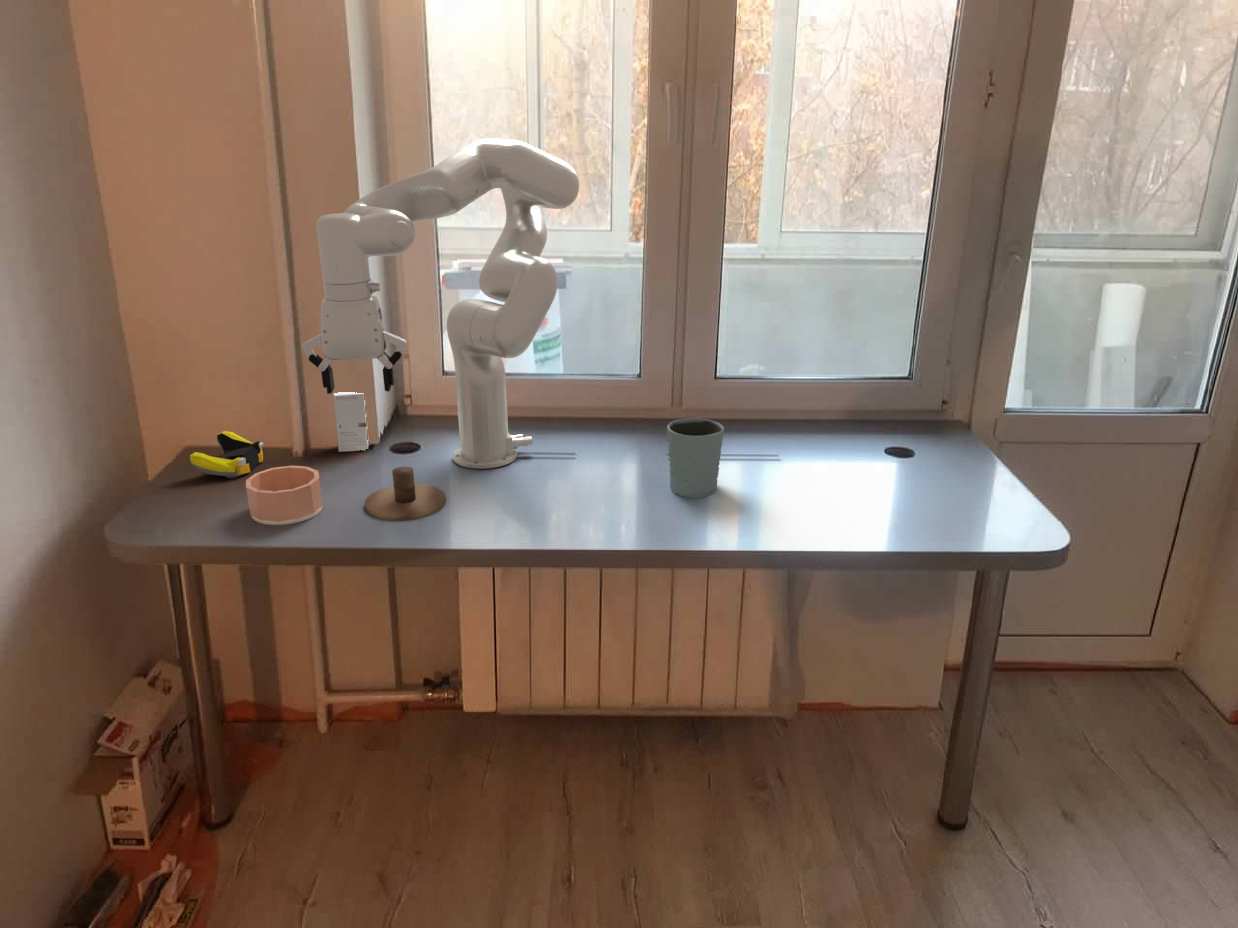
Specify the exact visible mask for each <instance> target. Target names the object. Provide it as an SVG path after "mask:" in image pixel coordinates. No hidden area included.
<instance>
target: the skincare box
mask: <svg viewBox="0 0 1238 928" xmlns="http://www.w3.org/2000/svg"><path fill="white" fill-rule="evenodd" d="M333 404H334V415H335V426H336V427H335V428H336V435H337V436H336V437H337V447H338V448H337V449H338V452H339V453H341V452H344V453H345V452H356V451H357V452H358V451H360V450H361V451H367V450H366V449H368V450H369V443H368V441H369V439H368V440H367V429H368V426H367V427H366V417H367V413H366V414H365V405H366V399H365V400H364V393H357V392H356V393H355V392H338V393H334V392H333ZM361 451H360V452H361Z"/></svg>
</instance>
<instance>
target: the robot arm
mask: <svg viewBox="0 0 1238 928" xmlns="http://www.w3.org/2000/svg"><path fill="white" fill-rule="evenodd" d="M494 189H500V190H501V194H502V196H503V201H504V205H505V212H506V213H505V214H506V215H505V216H506V217H505V218H506V219H505V223H504V227H503V229H502V231H501V234H500V236H499V237H498V239H497V240H496V243H495V245H494V246H493V248H492V250H491V252H490V253H489V255H488V258H487V259H486V261H485V263H484V265H483V267H482V268H481V271H480V274H479V278H478V284H479V289H480V291H481V292H482V293H483V294H484V295H485V296H486V297H488V298H489V299H492V300H494V301H498V302H502V303H503V304H502V303H497V302H493V301H488V300H485V299H484V300H483V299H478V298H467V299H462V300H460V301H459V302H457V303H455V304H454V305H453V306H452V308H451V309H450V310H449V312H448V315H447V318H446V332H447V337H448V341H449V345H450V348H451V351H452V358H453V364H454V373H455V386H456V387H455V388H456V402H457V417H458V418H457V419H458V431H459V434H458V435H459V446H460V447H458V448H456V449H455V450H454V451H453V454H452V460H453V461H454V463H455V464H456V465H459V466H461V467H463V468H468V469H475V470H476V469H477V470H481V469H482V470H488V469H495V468H499V467H504V466H506V465H509V464H510V463H512V462H515V460H516V459H517V457H518V451H517V449H518V448H519V447H532V446H533V438H532V435H530V436H524V435H523V434H522V433H521V434H514V435H512V434H510V432H509V426H508V425H509V423H508V405H507V404H508V403H507V401H508V400H507V387H506V386H507V385H506V383H507V382H506V381H507V379H506V378H507V377H506V368H505V365H504V361H503V359H514V358H517V357H519V356H521V355H523V354H524V353H525V351H526V350H528V348H529V347H530V345H531V343H532V342H533V340H534V339H535V336H536V334H537V332H538V331H539V329H540V327H541V325H542V323H543V322H544V320H545V319H546V316H547V314H548V312H549V310H550V308H551V307H552V304H553V302H554V300H555V298H556V295H557V291H558V290H557V289H558V274H557V271H556V268H555V267H554V265H553V264H552V263H551V262H550V261H549V260H548V259H546V258H543V257H541V255H542V252H543V251H544V248H545V246H546V243H547V240H548V239H547V238H548V230H547V229H548V228H547V226H546V225H547V223H546V219H545V217H544V213H543V208H545V209H553V210H560V209H561V210H563V209H566V208H567V207H569V206H570V205H572V204H573V203H574V202H575V201H576V199H577V197H578V195H579V191H580V180H579V176H578V175H577V172H576V171H575V168H573V167H572V166H571V165H570V164H569V163H567V162H566V161H564V160H562V159H560V158H558V157H556V156H553V155H552V154H550V153H547V152H546V151H543V150H542V149H539V148H537V147H534V146H533V145H532V144H531V145H530V144H528V143H526V142H523V141H521V140H516V139H503V138H502V139H501V138H482V139H478V140H475V141H474V142H471V143H470V144H469V145H467V146H466V145H465V147H463V148H462V149H460V150H458V151H457V152H455V153H454V154H452V155H451V156H448V157H447V158H445V159H444V160H443V161H441V162H439V163H438V164H436V165H434V166H432V167H431V168H428V169H427V170H425V171H422V172H419V173H416V174H413V175H410V176H408V177H404V178H403V179H400V180H398V181H395V182H391V183H389V184H386V185H383V186H382V187H379V188H377V189H375V190H373V191H371V192H370V193H368V194H365V195H364V196H363V197H361V198H360V199H358V200H357V201H355V202H353V203H352V204H350V205H349V206H348V207H347V208H346V209H344V211H343V212H342V213H341V212H339V213H338V212H337V213H329V214H325V215H321V216H319V218H318V219H317V220H316V223H315V224H316V226H315V227H316V237H317V243H318V251H319V252H318V253H319V259H320V261H319V262H320V267H321V268H320V269H321V276H322V283H323V292H324V298H323V299H322V300H321V305H320V334H318V335H316V336H314V337H312V338H311V339H309V340H307V341H306V342H303V343H302V344H301V346H300V348H301V350H302V351H303V353H304V354H305V356H306V357H307V358H308V360H309V362H310V363H311V364H313V365H314V366H315V367H316V368H317V369H318V370H319V371H320V372H321V380H322V381H321V382H322V385H323V386H322V387H323V388H325V389H326V393H327V394H329V395H330V394H333V393H334V390H335V388H336V387H335V381H334V379H335V378H334V372H333V371H334V370H333V367H332V366H331V363H332V361H346V360H347V361H348V360H351V361H353V360H372V359H374V360H375V359H376V360H378V361H379V362H380V364H382V365H383V367H382V368H383V369H382V377H383V386H384V391H385V392H390V391H391V389H392V386H394V385H395V376H394V365H395V364H396V363H397V362H398V361H399V360H400V359H401V358H402V355H403V354H404V351H405V348H406V346H407V344H408V342H407V340H406V339H404V338H402V337H401V336H398V335H395V334H393V333H391V332H389V331H386V330H385V323H384V318H383V313H382V309H381V305H380V302H379V298H378V296H375V295H373V294H374V293H376V292H380V291H381V283H380V282H378V283H377V282H376V283H375V282H373V280H372V278H371V272H370V263H369V257H392V256H393V257H394V256H399V255H401V254H403V253H405V252H406V251H409V249H410V248H411V247H412V245H413V243H414V242H415V237H416V230H415V226H414V224H413V223H414V222H418V221H419V222H420V221H425V220H434V219H435V220H436V219H441V218H444V217H448V216H451V215H455V214H456V213H458V212H460V211H461V210H463V209H465V208H466V207H467V206H469V204H471V203H473V202H475V201H476V200H477V199H479V198H480V197H482V196H484V195H485V194H487V193H488V192H490V191H492V190H494ZM388 343H390V344H391V345H394V346H395V347H396V349H395V350H394V352H393V353H392V354H391V355H390V354H389V353H388V352H387V351H386V350H387V344H388ZM320 344H321V348H322V353H323V356H324V358H322V356H320V355H318V354H317V353H316V352H315V350H314V347H317V346H318V345H320Z"/></svg>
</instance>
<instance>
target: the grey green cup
mask: <svg viewBox="0 0 1238 928" xmlns="http://www.w3.org/2000/svg"><path fill="white" fill-rule="evenodd" d="M666 428H667V429H666V430H667V442H668V457H669V458H668V459H669V466H668V467H669V487H670V490H671V492H672V493H674V494H676V495H678V496H681V497H686V498H703V497H707V496H711V495H713V494H715V492H716V490H717V488H718V477H719V470H720V467H719V466H720V464H721V463H720V461H721V454H722V450H721V449H722V445H723V439H724V433H725V428H724V426H723V425H722V423H719V422H717V421H714V420H712V419H707V418H697V417H696V418H690V417H689V418H682V419H676V420H674V421H671V422H669V423H668V424H667V427H666Z"/></svg>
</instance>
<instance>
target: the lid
mask: <svg viewBox="0 0 1238 928" xmlns="http://www.w3.org/2000/svg"><path fill="white" fill-rule="evenodd" d="M391 472H392V482H393V483H392V484H393V485H392V486H386V487H383V488H380V489H379V490H378V489H377V490H376V491H374V492H372V493H371V494H369V495H368V496H367V498H366V499H365V500H364V501H365V502H364V507H365V511H366V512H367V514H369V515H370V516H372V517H373V518H374V517H375V518H377V519H381V520H385V521H386V520H388V521H408V520H415V519H420V518H423V517H427V516H430V515H432V514H435V513H436V512H438V511H440V510H441V509H442V508H444V507H445V505H446V502H447V501H446V500H447V498H446V494H445V491H443V490H442V489H440V488H439V487H437V486H434V485H430V484H424V483H415V473H414V468H413V467H411V466H399V467H396V468H393V469H392V471H391Z"/></svg>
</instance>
